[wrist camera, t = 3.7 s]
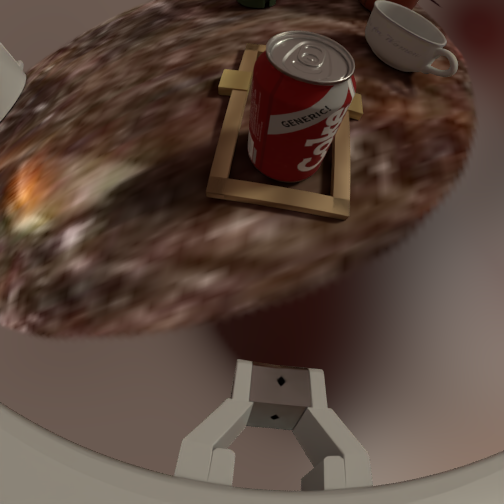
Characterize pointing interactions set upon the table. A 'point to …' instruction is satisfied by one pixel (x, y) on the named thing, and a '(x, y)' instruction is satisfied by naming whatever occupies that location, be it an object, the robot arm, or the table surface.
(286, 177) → the soda can
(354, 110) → the wooden rectangular frame
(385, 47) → the teacup
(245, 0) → the character mug
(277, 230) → the table surface
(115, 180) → the table surface
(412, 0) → the potted plant
